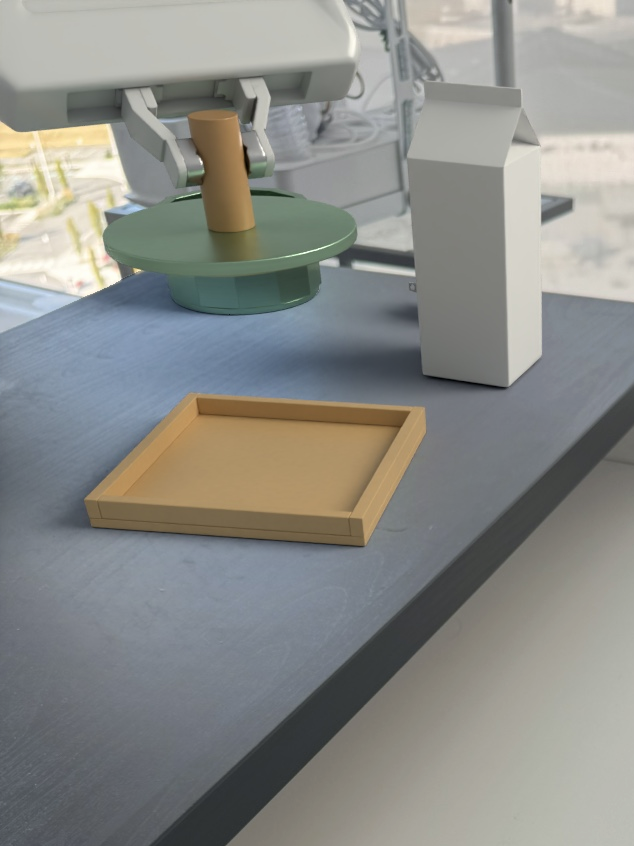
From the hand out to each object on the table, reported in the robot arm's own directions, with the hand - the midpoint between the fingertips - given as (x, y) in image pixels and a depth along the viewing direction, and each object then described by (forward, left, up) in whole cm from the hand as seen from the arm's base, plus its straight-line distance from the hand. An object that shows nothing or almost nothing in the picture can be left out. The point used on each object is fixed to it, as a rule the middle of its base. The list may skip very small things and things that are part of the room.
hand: (227, 176), depth 63 cm
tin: (-15, +36, -18) cm, 43 cm away
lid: (0, 0, -3) cm, 3 cm away
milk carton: (+9, +21, -18) cm, 30 cm away
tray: (-1, 0, -18) cm, 18 cm away
